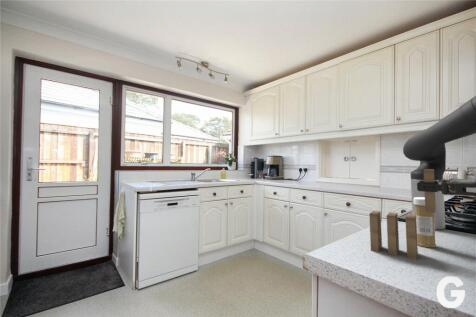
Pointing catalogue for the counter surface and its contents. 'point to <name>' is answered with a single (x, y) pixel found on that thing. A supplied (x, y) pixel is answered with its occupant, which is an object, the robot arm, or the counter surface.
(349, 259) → the counter surface
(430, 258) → the counter surface
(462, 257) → the counter surface
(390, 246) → the domino
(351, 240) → the counter surface
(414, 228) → the domino
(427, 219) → the sprinkles bottle
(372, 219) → the end domino
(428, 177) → the domino
